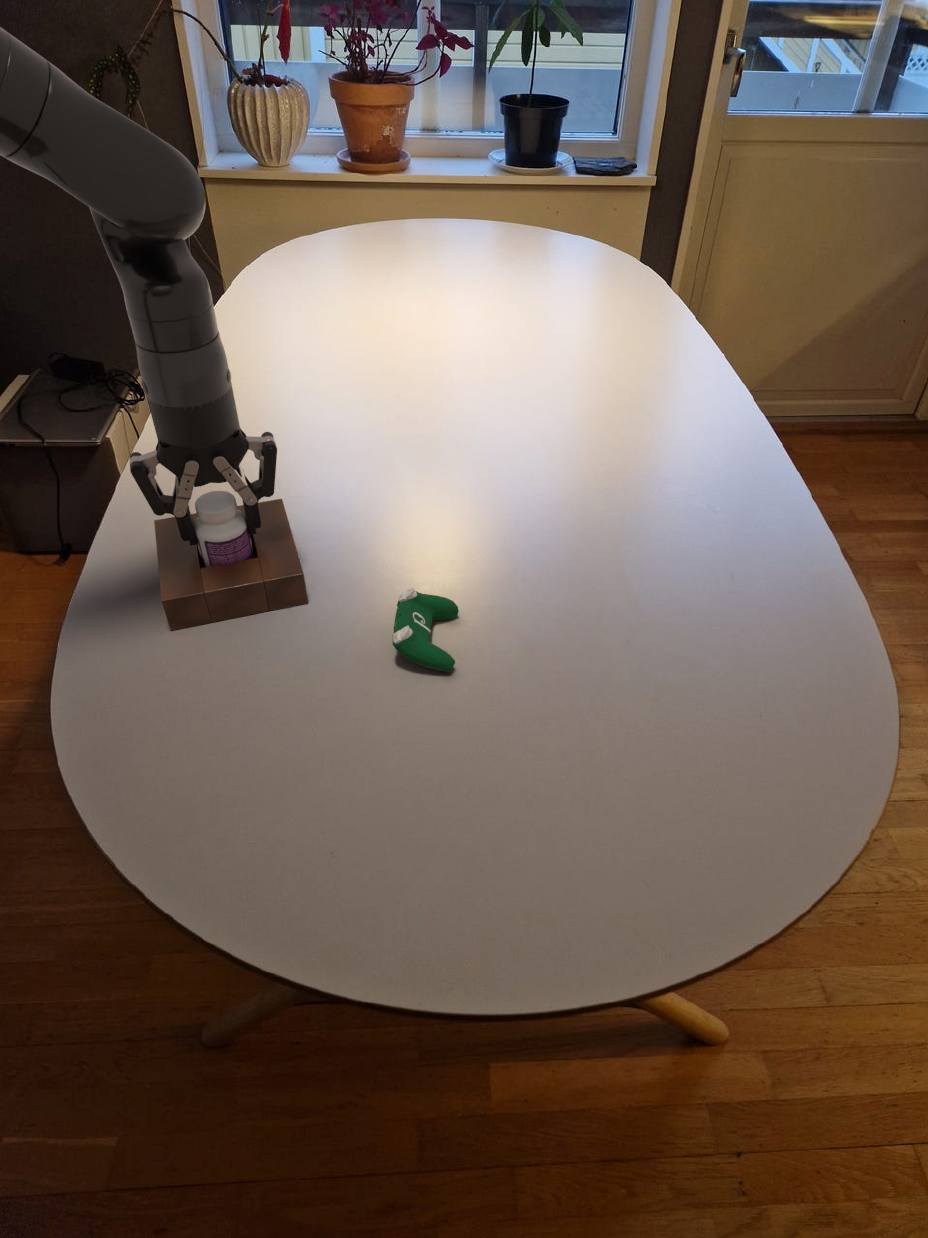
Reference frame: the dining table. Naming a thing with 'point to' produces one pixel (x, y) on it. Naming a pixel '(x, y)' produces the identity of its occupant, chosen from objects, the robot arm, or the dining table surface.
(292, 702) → the dining table surface
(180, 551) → the holder
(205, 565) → the pill bottle
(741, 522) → the dining table surface
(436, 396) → the dining table surface
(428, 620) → the gaming controller
